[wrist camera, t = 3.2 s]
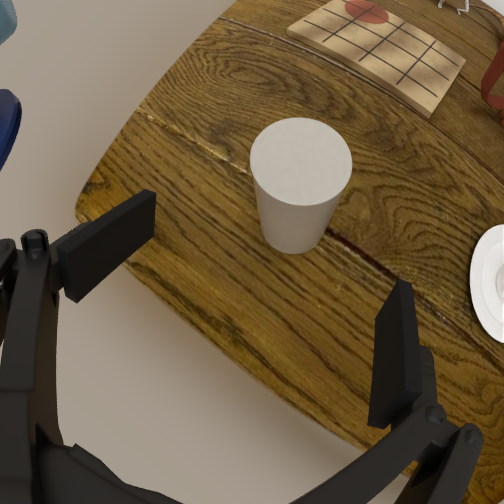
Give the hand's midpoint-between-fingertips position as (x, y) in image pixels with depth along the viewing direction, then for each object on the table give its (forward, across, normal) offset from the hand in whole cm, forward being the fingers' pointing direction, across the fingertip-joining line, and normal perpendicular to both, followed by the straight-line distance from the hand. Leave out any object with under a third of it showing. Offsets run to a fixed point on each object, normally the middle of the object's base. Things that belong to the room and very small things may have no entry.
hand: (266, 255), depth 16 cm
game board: (+31, +3, +16) cm, 35 cm away
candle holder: (+13, +23, -2) cm, 27 cm away
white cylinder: (+12, 0, -4) cm, 12 cm away
